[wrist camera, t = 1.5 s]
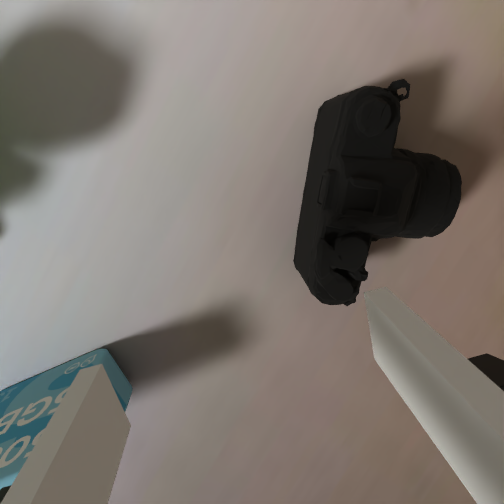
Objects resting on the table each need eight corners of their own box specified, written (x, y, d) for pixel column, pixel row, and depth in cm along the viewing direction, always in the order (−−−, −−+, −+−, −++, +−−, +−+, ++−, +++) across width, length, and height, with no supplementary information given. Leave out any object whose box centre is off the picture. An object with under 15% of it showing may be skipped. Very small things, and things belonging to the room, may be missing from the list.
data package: (111, 341, 31) (49, 460, 19) (137, 380, 32) (93, 512, 21) (-10, 394, 31) (-140, 540, 20) (20, 430, 33) (-85, 585, 21)
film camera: (387, 283, 32) (450, 337, 23) (282, 273, 30) (307, 326, 22) (436, 103, 27) (535, 87, 19) (315, 82, 26) (363, 55, 18)
